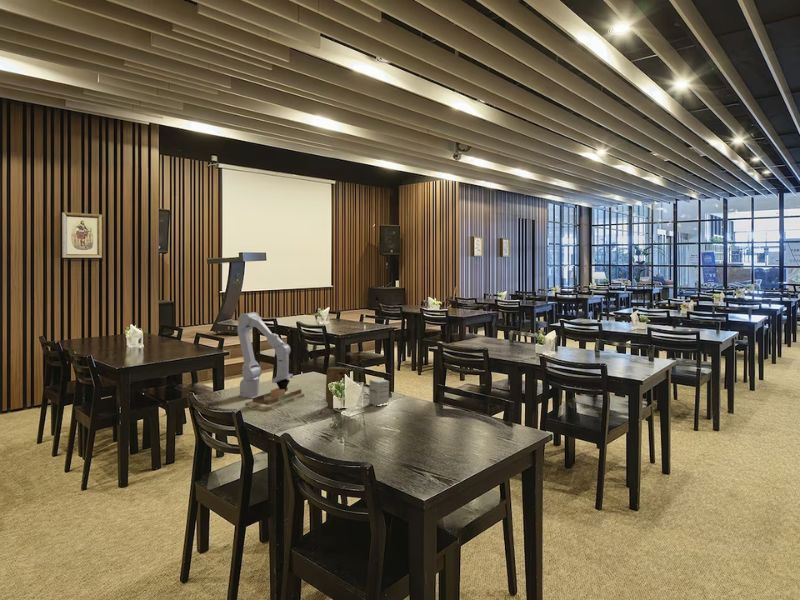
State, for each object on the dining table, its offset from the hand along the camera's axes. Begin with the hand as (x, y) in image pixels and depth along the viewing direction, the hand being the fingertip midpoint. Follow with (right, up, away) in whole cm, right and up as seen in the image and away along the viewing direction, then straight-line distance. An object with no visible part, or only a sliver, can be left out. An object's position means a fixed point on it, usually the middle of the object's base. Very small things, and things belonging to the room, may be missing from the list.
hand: (282, 393), depth 263 cm
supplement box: (+50, -5, -4) cm, 50 cm away
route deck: (-2, -3, -5) cm, 6 cm away
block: (+30, -5, -11) cm, 32 cm away
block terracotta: (-2, -1, -4) cm, 4 cm away
